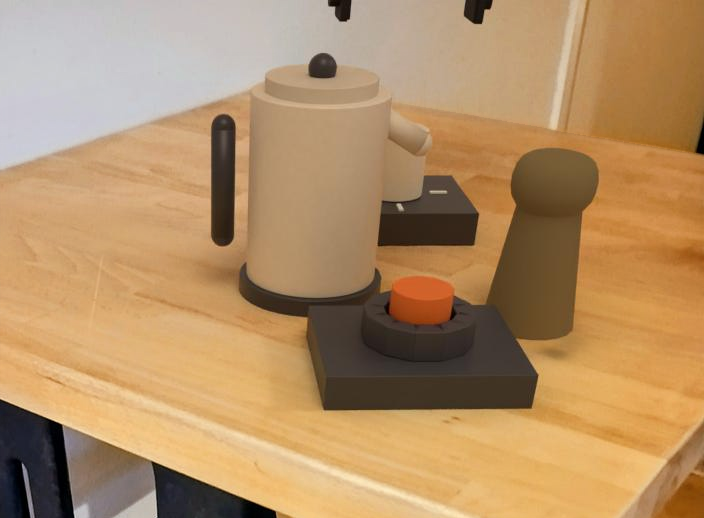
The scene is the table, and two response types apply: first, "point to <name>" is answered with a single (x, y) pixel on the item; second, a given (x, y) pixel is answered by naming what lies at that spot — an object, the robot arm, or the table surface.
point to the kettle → (310, 184)
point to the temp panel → (430, 216)
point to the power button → (421, 300)
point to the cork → (543, 243)
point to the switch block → (417, 359)
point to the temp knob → (403, 173)
